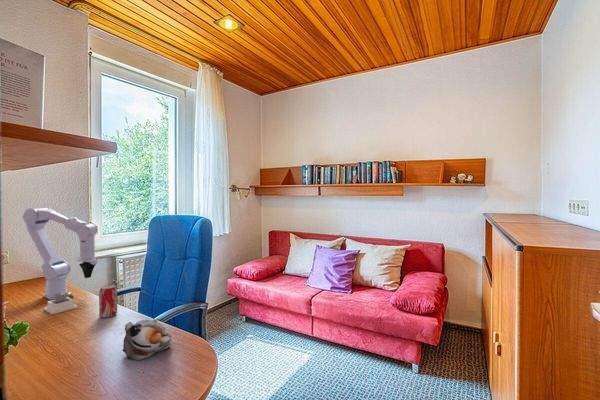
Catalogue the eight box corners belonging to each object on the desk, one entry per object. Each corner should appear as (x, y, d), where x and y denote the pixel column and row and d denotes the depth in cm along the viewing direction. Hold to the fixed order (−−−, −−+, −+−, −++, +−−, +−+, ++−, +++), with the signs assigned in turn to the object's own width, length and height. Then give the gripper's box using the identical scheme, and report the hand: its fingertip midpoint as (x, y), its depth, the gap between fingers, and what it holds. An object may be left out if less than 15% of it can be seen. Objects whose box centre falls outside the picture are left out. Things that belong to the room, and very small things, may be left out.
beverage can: (111, 318, 121) (110, 289, 121) (95, 318, 121) (95, 288, 121) (120, 312, 127) (120, 284, 127) (105, 312, 127) (105, 284, 127)
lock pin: (61, 302, 138) (61, 293, 138) (70, 300, 141) (70, 291, 141) (64, 304, 136) (64, 294, 136) (73, 301, 139) (73, 292, 139)
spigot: (53, 307, 131) (52, 294, 131) (64, 304, 134) (64, 292, 134) (57, 309, 129) (56, 296, 129) (68, 306, 132) (68, 293, 132)
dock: (41, 308, 132) (41, 300, 132) (70, 300, 141) (70, 293, 141) (51, 314, 125) (51, 306, 125) (81, 306, 134) (81, 298, 134)
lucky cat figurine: (178, 340, 103) (182, 312, 97) (159, 373, 92) (162, 343, 86) (136, 328, 103) (137, 298, 97) (112, 359, 92) (112, 328, 86)
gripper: (71, 249, 146) (71, 277, 146) (85, 252, 138) (85, 281, 139) (87, 246, 152) (87, 273, 152) (101, 250, 144) (102, 278, 145)
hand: (87, 277), depth 146 cm, fingers closed
